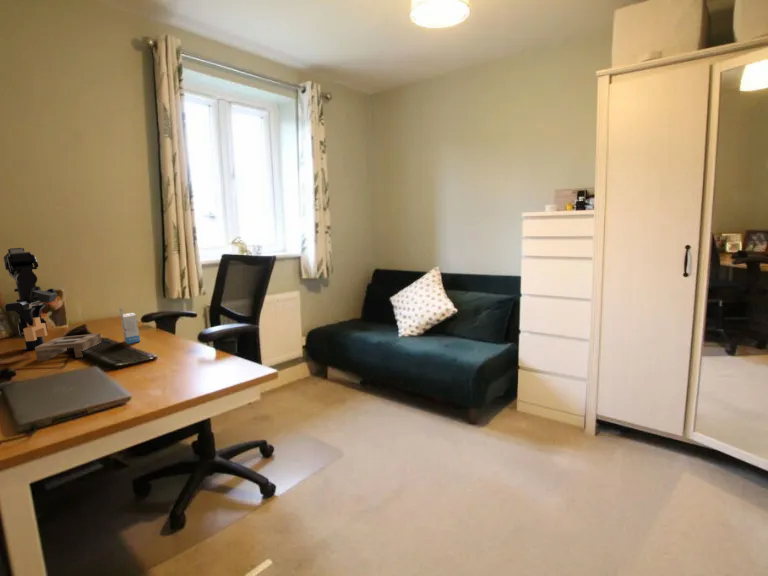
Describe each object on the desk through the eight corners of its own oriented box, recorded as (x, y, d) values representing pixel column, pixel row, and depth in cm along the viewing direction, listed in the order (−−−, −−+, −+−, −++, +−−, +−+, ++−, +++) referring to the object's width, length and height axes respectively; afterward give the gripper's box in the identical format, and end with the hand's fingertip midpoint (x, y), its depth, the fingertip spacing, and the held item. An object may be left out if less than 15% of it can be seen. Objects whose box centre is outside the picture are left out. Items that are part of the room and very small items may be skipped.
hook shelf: (59, 350, 170) (57, 337, 170) (102, 346, 173) (100, 333, 172) (37, 361, 157) (34, 347, 156) (84, 356, 159) (81, 342, 158)
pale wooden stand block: (39, 335, 167) (35, 316, 166) (47, 335, 168) (43, 315, 166) (25, 341, 160) (21, 321, 158) (34, 340, 160) (30, 320, 159)
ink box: (141, 341, 177) (135, 307, 174) (127, 344, 174) (121, 309, 171) (137, 338, 183) (132, 305, 181) (124, 340, 180) (118, 307, 178)
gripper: (33, 286, 152) (41, 328, 155) (63, 280, 171) (70, 317, 173) (-1, 289, 151) (8, 331, 153) (33, 282, 169) (40, 319, 171)
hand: (34, 324), depth 163 cm, fingers closed on pale wooden stand block, 3 cm apart
